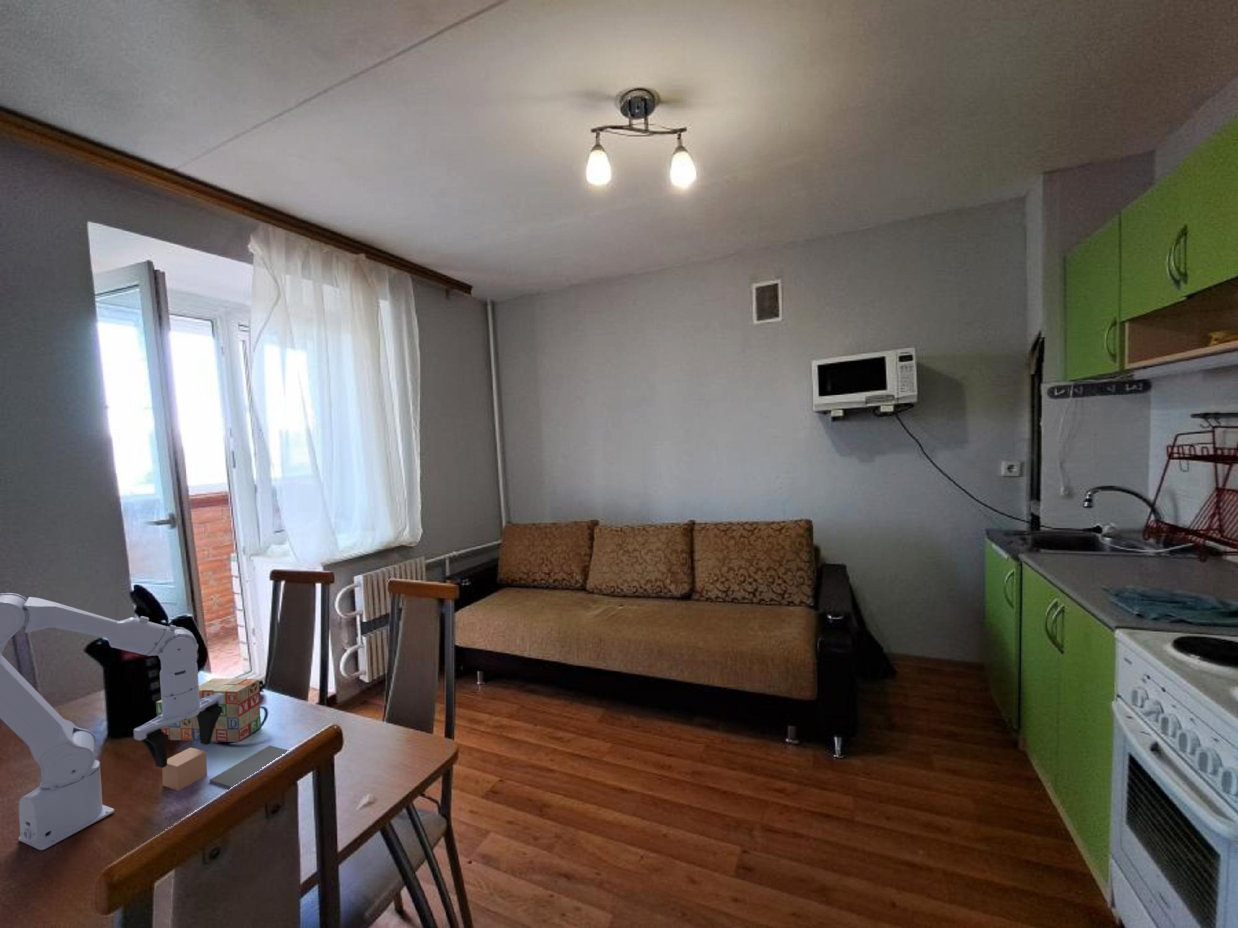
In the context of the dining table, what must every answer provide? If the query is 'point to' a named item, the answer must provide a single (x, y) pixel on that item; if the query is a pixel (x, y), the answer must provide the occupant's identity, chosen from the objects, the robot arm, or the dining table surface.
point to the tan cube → (184, 768)
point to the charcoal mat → (247, 767)
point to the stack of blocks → (223, 711)
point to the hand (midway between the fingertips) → (184, 754)
